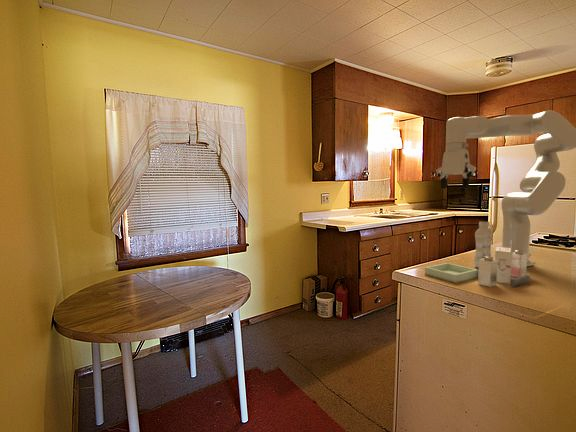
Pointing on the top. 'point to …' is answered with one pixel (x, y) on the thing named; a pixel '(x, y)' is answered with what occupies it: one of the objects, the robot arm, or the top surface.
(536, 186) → the robot arm
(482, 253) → the plastic bottle
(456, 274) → the tray
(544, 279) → the top surface
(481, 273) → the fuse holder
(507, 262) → the ink cartridge box
